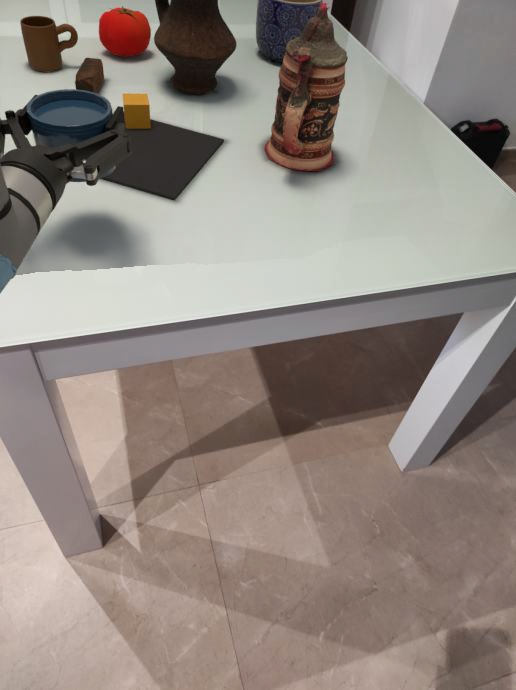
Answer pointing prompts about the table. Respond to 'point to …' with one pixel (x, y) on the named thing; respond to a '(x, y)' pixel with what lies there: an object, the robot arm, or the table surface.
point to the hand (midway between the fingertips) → (80, 110)
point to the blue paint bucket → (68, 118)
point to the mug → (45, 42)
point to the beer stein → (308, 97)
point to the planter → (282, 24)
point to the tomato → (124, 32)
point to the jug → (193, 42)
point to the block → (136, 111)
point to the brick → (90, 75)
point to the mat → (163, 158)
